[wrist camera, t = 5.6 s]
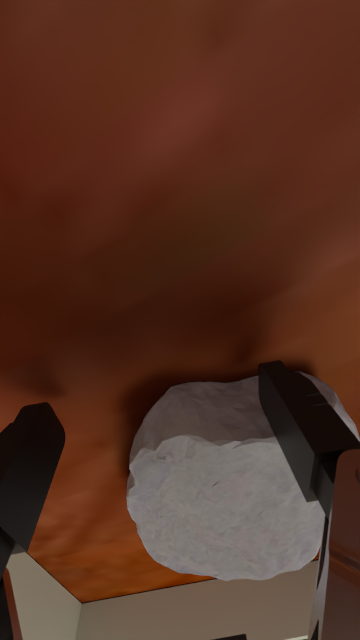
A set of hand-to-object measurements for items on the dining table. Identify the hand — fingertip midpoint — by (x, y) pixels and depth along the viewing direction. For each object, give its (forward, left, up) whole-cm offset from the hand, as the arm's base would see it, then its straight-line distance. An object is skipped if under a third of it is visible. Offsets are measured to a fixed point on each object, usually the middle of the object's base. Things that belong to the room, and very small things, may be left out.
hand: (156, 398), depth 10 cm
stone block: (+7, +2, -2) cm, 7 cm away
